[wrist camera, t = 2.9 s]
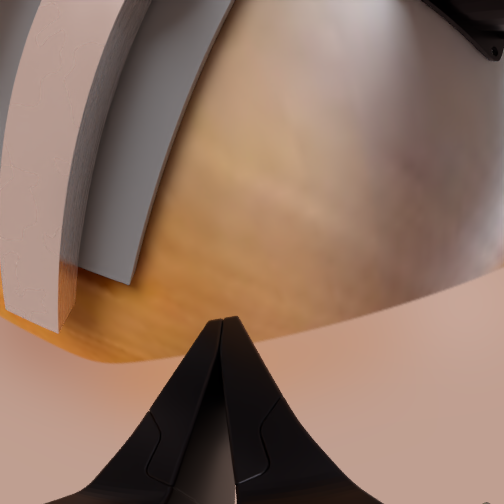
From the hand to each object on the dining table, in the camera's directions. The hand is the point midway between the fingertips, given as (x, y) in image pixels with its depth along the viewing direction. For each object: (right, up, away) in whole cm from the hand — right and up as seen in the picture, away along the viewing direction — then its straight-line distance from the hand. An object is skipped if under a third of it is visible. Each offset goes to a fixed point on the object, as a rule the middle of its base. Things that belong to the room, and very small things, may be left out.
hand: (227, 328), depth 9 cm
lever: (-6, +8, 0) cm, 9 cm away
